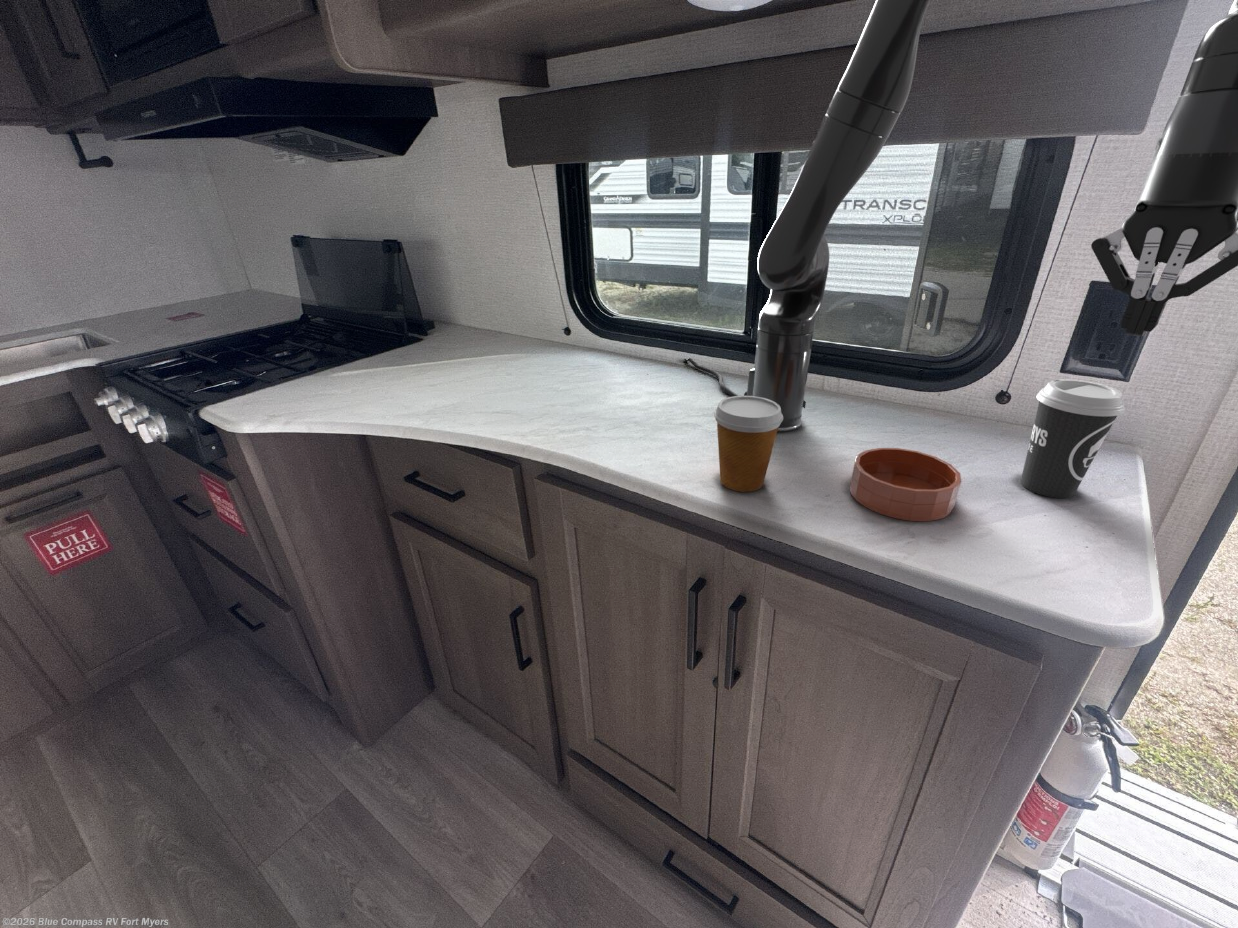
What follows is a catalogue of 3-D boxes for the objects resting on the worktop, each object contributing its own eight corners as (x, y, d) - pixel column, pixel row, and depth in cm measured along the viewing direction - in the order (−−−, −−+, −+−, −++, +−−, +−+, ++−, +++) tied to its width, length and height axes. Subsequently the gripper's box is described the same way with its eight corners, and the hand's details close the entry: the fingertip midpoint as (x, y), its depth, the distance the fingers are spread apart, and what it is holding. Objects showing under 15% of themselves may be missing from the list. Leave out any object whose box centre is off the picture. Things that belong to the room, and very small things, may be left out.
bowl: (832, 495, 80) (837, 466, 78) (876, 466, 88) (882, 440, 86) (928, 533, 71) (936, 502, 69) (967, 497, 79) (976, 469, 77)
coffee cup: (1055, 471, 86) (1091, 376, 79) (1105, 503, 78) (1151, 400, 71) (993, 472, 86) (1024, 377, 79) (1037, 504, 77) (1076, 401, 71)
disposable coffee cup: (783, 495, 80) (794, 417, 75) (717, 499, 80) (723, 420, 74) (763, 465, 89) (771, 393, 83) (703, 468, 88) (707, 395, 83)
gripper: (1314, 148, 51) (1223, 339, 59) (1127, 154, 60) (1070, 319, 67) (1312, 145, 46) (1214, 353, 54) (1111, 152, 55) (1051, 329, 63)
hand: (1134, 334), depth 61 cm, fingers closed
